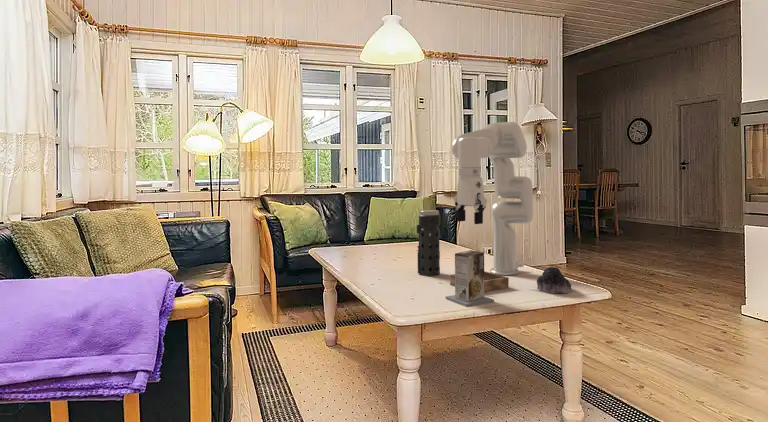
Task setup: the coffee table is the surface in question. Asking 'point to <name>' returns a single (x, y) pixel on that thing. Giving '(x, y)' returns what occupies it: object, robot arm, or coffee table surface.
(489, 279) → the corral
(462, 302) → the mat
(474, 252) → the coffee box
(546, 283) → the crystal cluster
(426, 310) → the coffee table surface
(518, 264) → the robot arm
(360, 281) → the coffee table surface
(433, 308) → the coffee table surface
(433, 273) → the muzzle brake
